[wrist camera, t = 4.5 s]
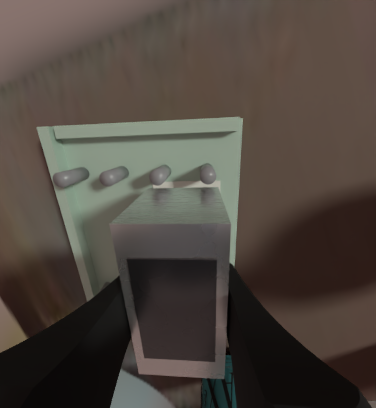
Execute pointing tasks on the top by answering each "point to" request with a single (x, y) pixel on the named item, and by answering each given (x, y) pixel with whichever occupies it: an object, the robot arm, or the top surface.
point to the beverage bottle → (219, 389)
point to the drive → (176, 279)
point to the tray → (134, 177)
